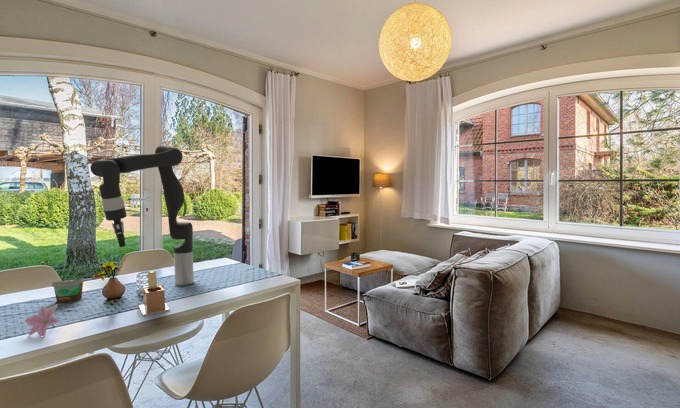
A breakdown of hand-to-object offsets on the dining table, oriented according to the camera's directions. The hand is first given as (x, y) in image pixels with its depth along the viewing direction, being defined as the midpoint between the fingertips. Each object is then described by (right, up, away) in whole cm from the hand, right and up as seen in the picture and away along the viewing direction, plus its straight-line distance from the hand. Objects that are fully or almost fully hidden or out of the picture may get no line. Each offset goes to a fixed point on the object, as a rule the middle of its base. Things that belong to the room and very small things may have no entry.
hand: (122, 243), depth 150 cm
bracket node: (+12, -29, +3) cm, 32 cm away
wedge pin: (+14, -23, 0) cm, 27 cm away
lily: (-16, -31, -20) cm, 41 cm away
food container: (-32, -28, +12) cm, 45 cm away
